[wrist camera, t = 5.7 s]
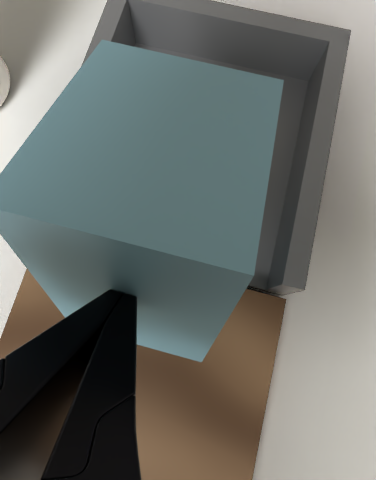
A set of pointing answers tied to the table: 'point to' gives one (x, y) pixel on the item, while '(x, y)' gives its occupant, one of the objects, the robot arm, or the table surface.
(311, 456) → the table surface
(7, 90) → the white tall tapered cylinder
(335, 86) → the box
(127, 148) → the block
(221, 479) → the board
